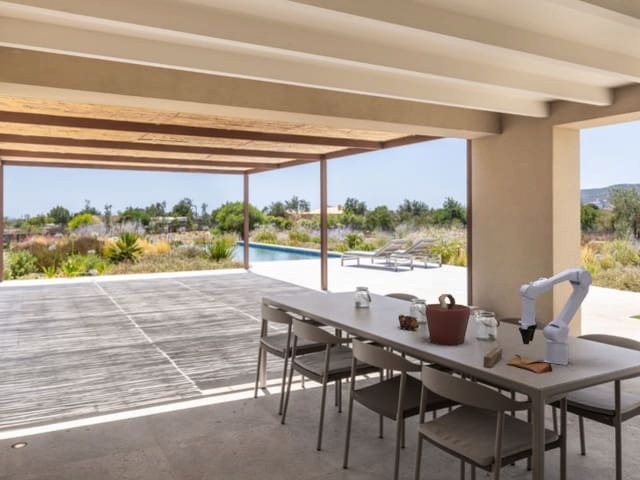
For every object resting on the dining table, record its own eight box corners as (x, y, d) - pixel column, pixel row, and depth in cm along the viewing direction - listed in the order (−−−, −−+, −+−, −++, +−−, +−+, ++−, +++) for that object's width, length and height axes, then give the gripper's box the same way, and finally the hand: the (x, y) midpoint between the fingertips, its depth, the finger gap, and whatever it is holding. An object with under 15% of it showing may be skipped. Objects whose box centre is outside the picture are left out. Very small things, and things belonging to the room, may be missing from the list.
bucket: (453, 349, 253) (453, 298, 252) (414, 342, 268) (414, 294, 267) (475, 341, 271) (476, 294, 270) (438, 335, 286) (438, 290, 285)
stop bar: (501, 357, 238) (501, 348, 238) (490, 368, 221) (490, 357, 221) (495, 356, 239) (495, 347, 239) (483, 367, 223) (483, 356, 222)
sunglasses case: (503, 363, 227) (508, 350, 229) (512, 370, 230) (517, 356, 232) (540, 374, 212) (545, 359, 214) (548, 380, 215) (554, 365, 217)
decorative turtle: (402, 326, 311) (404, 313, 311) (423, 331, 300) (424, 318, 299) (392, 327, 305) (393, 313, 304) (412, 333, 293) (413, 319, 293)
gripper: (522, 308, 237) (522, 338, 237) (514, 313, 225) (514, 344, 225) (538, 310, 233) (538, 340, 233) (532, 315, 221) (531, 346, 221)
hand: (527, 342), depth 229 cm, fingers open, 7 cm apart
